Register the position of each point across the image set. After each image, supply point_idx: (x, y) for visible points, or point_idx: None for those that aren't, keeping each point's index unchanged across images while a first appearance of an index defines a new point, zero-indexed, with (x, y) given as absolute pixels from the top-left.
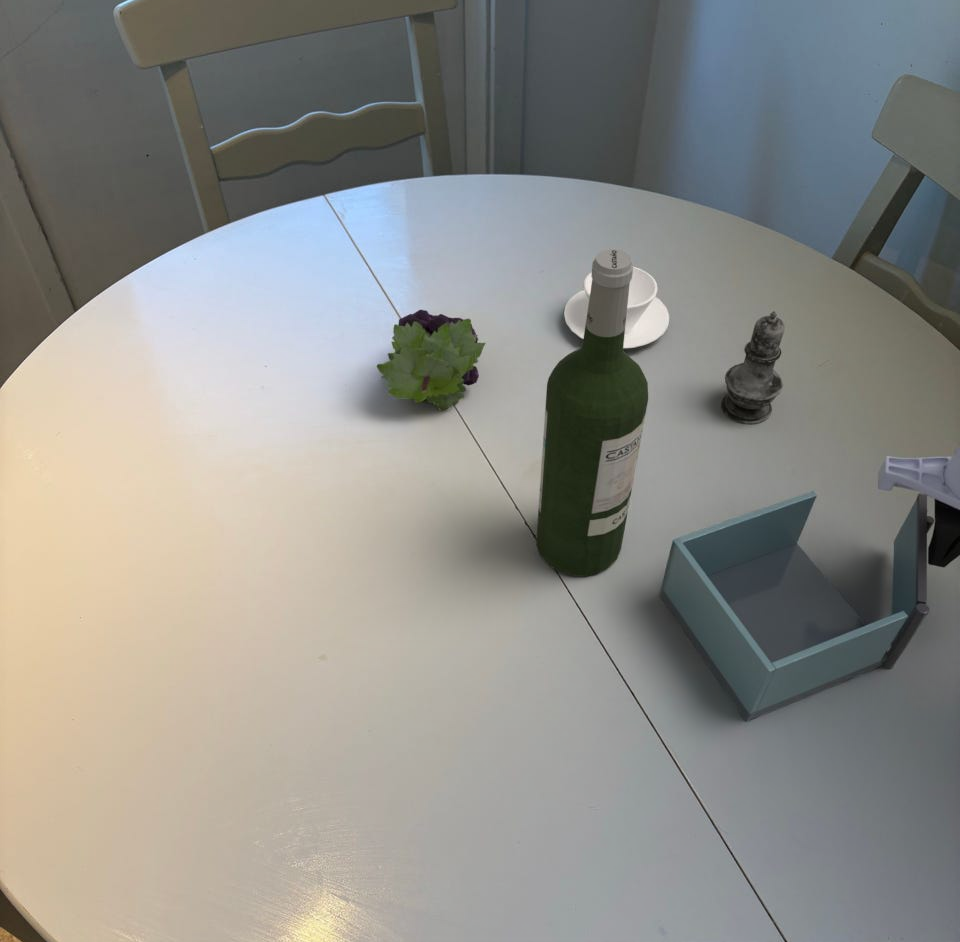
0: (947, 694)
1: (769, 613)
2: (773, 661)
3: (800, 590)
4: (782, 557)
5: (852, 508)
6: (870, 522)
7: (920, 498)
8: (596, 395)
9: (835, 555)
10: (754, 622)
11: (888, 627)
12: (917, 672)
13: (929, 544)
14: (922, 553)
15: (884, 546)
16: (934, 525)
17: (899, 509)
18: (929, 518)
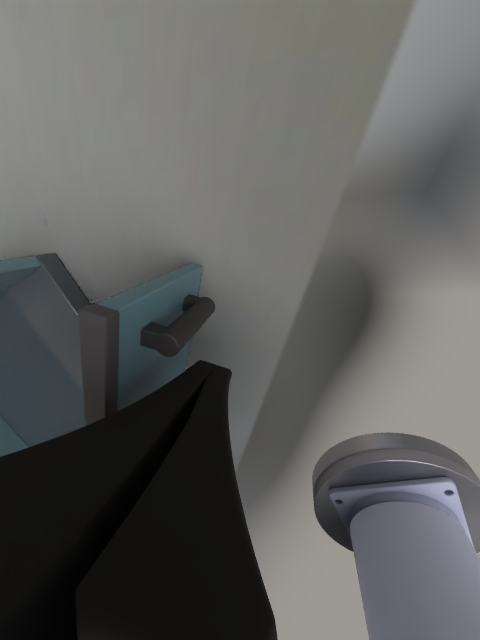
0: (235, 467)
1: (36, 381)
2: (53, 432)
3: (63, 351)
4: (29, 295)
5: (147, 134)
6: (180, 177)
7: (83, 335)
8: None
9: (120, 268)
10: (25, 389)
11: None
12: None
13: (195, 363)
14: None
15: (198, 244)
16: (161, 387)
17: (247, 123)
18: (165, 343)
